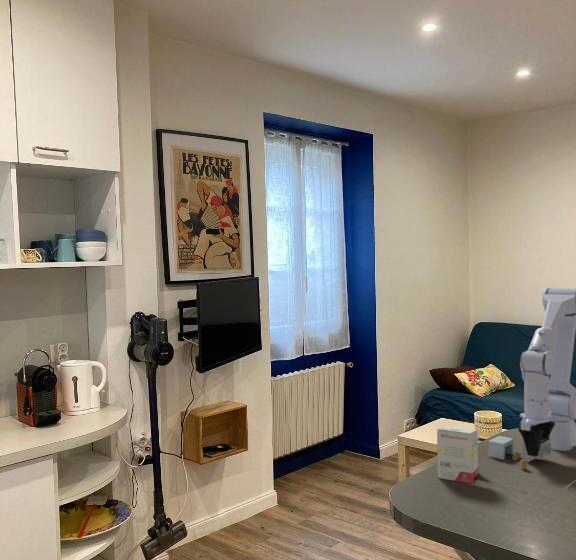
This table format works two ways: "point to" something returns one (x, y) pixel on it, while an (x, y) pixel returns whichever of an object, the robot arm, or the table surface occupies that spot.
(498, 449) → the block
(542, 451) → the block
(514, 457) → the plate
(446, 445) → the ink box
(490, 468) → the table surface
